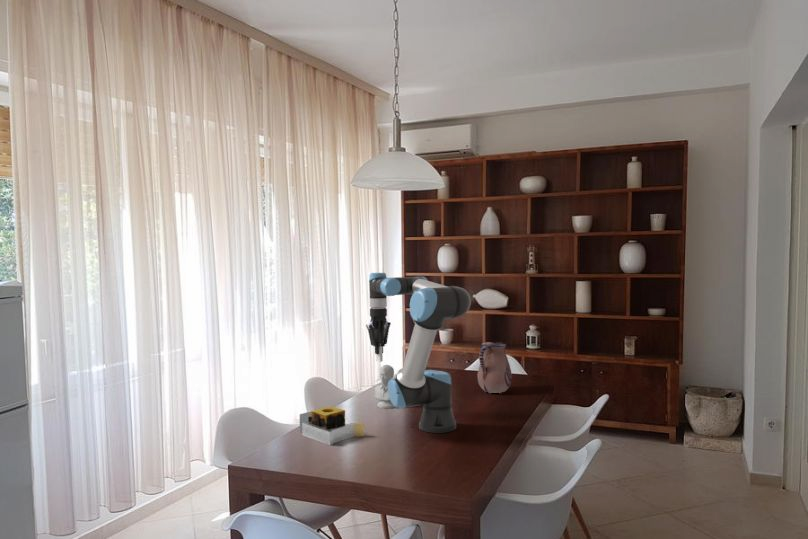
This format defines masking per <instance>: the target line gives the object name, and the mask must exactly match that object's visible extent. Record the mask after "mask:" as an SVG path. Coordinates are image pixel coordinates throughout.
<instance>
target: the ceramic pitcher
mask: <svg viewBox="0 0 808 539" xmlns="http://www.w3.org/2000/svg"><path fill="white" fill-rule="evenodd" d="M481 346H482V347H481V348H480V349H479V354H478V358H479V359H478V360H479V366H478V369H477V376H476V377H477V382H478V385H479V386H480V388H481V389H482V390H483V391H484V392H485V393H486V392H488V394H491V393H499V394H503V393H505V392H506V391H507V390H508V389H509V388H510V386H511V384H512V380H513V373H512V369H511V364H510V362H509V359H508V356H507V353H506V347H507V344H506V343H503V342H500V341H499V342H498V341H496V342H493V341H492V342H490V341H486V342H483V343H481ZM502 392H503V393H502Z"/></svg>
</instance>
